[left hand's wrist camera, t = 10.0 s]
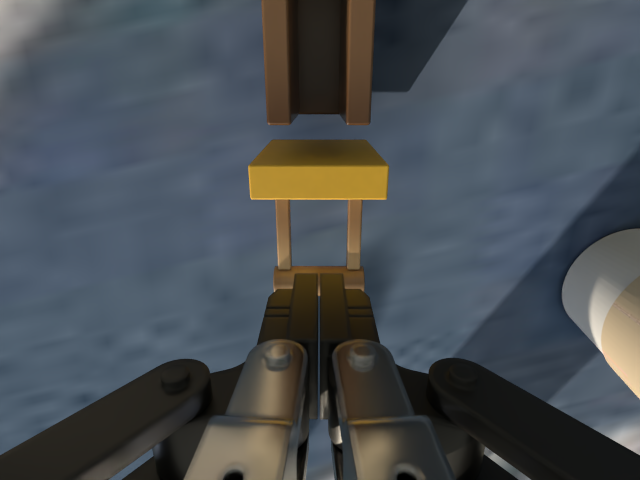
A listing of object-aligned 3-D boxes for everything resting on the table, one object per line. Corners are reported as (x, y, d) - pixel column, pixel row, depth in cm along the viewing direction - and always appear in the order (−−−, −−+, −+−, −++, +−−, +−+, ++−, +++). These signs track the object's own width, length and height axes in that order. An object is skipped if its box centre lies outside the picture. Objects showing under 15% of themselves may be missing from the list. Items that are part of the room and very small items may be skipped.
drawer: (361, 265, 22) (378, 339, 16) (277, 265, 22) (259, 339, 16) (384, -287, 14) (438, -598, 8) (253, -287, 14) (198, -598, 8)
